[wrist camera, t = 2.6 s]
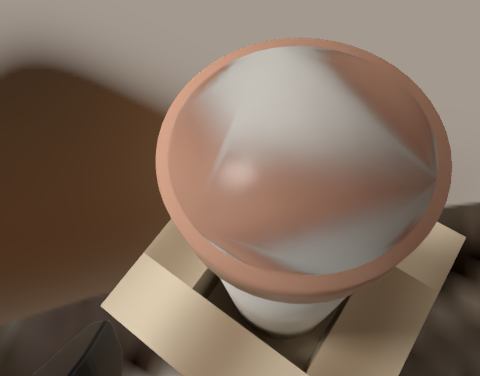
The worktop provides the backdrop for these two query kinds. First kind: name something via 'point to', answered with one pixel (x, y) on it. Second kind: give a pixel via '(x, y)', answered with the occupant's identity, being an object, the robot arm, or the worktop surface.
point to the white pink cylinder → (301, 175)
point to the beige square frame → (269, 349)
